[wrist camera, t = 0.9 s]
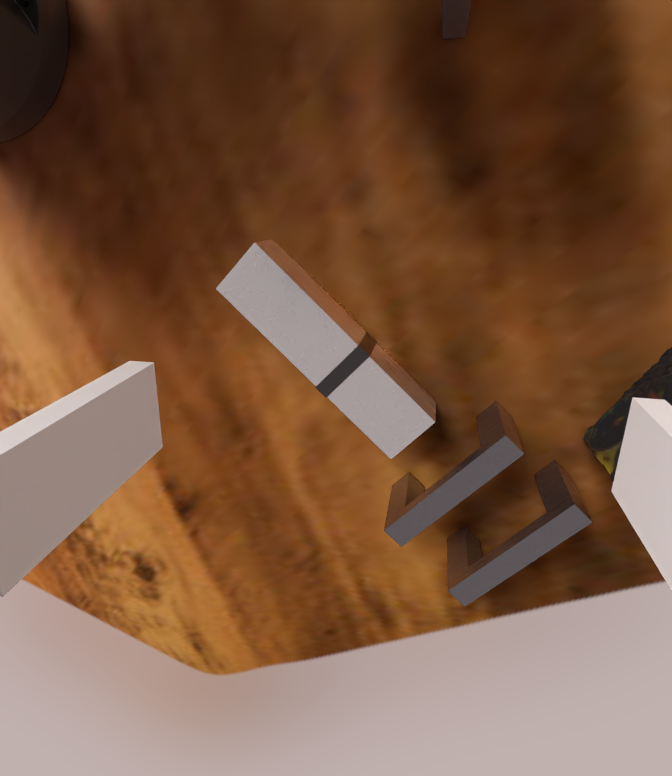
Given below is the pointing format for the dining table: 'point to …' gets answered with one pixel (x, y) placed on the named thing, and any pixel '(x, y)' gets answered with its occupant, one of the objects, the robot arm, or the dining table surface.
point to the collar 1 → (453, 478)
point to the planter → (455, 18)
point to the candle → (606, 436)
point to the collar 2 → (516, 539)
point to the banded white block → (328, 347)
